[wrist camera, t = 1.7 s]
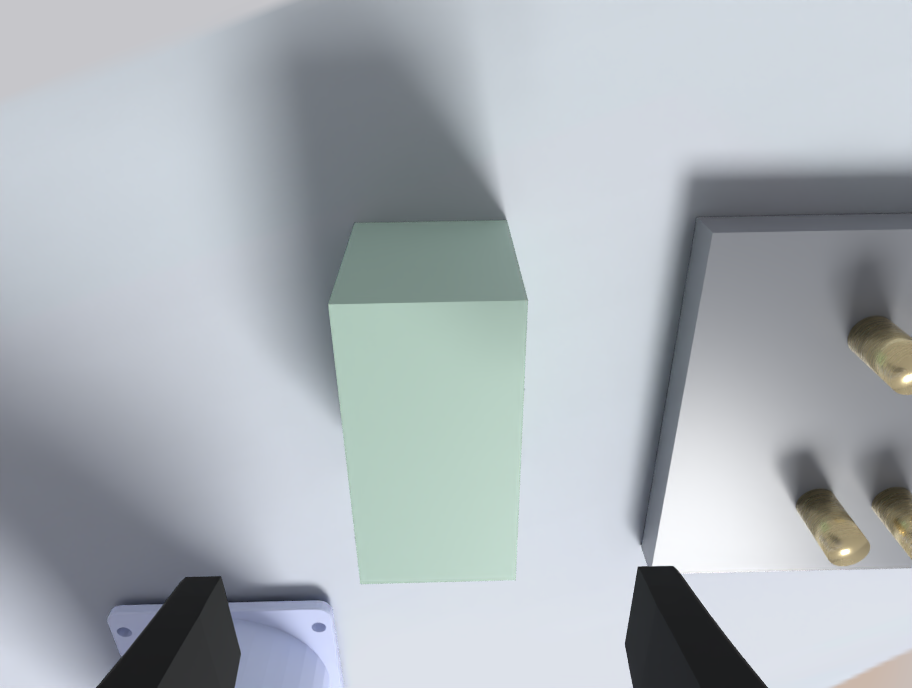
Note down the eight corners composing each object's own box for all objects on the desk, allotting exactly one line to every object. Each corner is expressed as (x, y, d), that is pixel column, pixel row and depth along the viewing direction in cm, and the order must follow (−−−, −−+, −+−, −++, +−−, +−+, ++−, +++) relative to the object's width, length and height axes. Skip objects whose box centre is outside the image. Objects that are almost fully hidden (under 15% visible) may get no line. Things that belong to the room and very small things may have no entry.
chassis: (981, 539, 24) (1052, 615, 21) (641, 547, 24) (668, 625, 21) (1147, 208, 18) (1277, 254, 15) (696, 217, 18) (744, 264, 15)
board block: (500, 457, 22) (515, 579, 18) (376, 459, 22) (360, 584, 18) (506, 218, 18) (527, 300, 14) (354, 221, 18) (327, 304, 14)
